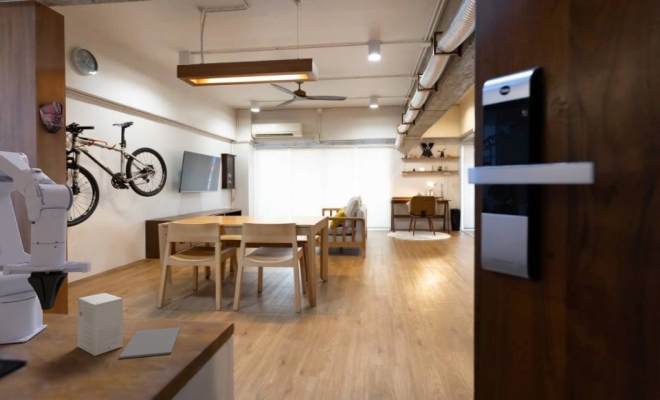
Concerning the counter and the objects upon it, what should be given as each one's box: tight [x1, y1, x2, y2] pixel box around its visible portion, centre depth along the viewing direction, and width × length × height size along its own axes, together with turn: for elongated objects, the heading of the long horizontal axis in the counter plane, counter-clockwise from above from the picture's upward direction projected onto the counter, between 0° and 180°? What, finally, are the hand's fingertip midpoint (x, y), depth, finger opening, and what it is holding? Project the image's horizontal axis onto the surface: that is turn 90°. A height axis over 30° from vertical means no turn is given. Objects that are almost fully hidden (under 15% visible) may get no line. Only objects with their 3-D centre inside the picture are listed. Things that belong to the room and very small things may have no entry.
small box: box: [77, 292, 124, 357], centre depth 74 cm, size 8×6×10 cm
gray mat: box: [118, 326, 181, 360], centre depth 77 cm, size 14×10×1 cm
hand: (48, 308), depth 72 cm, fingers closed
